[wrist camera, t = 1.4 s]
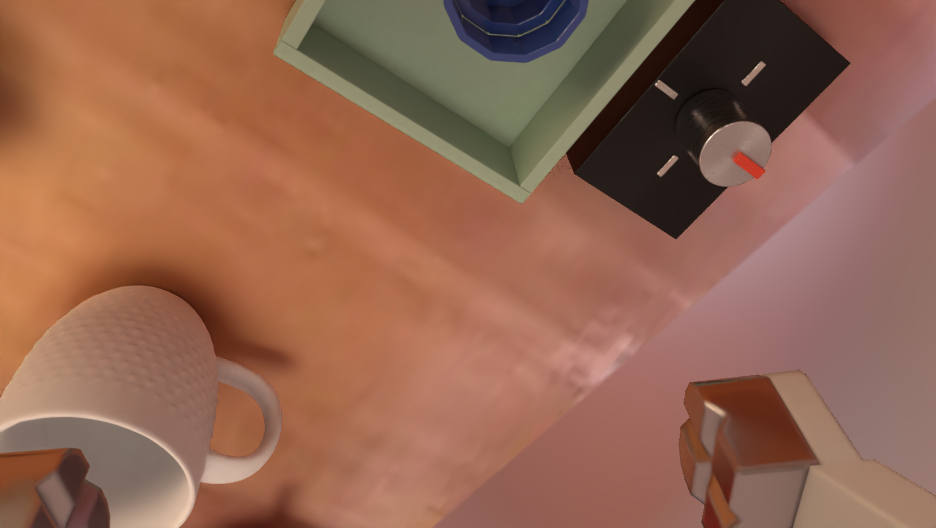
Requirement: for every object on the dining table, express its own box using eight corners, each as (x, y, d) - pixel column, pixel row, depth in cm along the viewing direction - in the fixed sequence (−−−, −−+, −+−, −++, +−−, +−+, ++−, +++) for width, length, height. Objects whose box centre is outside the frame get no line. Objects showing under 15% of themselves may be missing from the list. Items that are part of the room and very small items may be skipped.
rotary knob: (661, 129, 42) (686, 167, 38) (709, 75, 40) (740, 110, 37) (707, 162, 43) (735, 201, 40) (756, 112, 41) (789, 148, 38)
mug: (315, 301, 50) (295, 458, 40) (269, 415, 56) (241, 580, 45) (69, 233, 46) (-28, 389, 35) (46, 364, 51) (-44, 534, 41)
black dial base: (726, -44, 40) (749, -27, 37) (824, 43, 43) (852, 64, 40) (564, 149, 45) (574, 175, 43) (661, 213, 48) (676, 241, 46)
